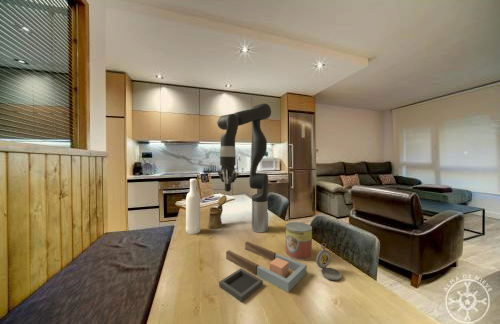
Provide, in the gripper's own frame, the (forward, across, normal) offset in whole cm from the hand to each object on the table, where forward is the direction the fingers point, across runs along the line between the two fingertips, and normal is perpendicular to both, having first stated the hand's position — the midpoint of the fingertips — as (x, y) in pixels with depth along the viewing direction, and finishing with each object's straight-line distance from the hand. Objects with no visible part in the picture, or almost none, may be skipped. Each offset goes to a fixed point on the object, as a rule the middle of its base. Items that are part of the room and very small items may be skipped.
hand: (227, 191), depth 90 cm
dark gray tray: (+25, -26, +18) cm, 41 cm away
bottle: (+26, +25, +3) cm, 36 cm away
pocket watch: (+26, -46, -7) cm, 53 cm away
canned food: (+26, -31, -14) cm, 43 cm away
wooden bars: (+25, -19, +4) cm, 32 cm away
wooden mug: (+26, +23, -13) cm, 37 cm away
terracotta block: (+26, -32, +4) cm, 41 cm away
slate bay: (+25, -33, +4) cm, 41 cm away
